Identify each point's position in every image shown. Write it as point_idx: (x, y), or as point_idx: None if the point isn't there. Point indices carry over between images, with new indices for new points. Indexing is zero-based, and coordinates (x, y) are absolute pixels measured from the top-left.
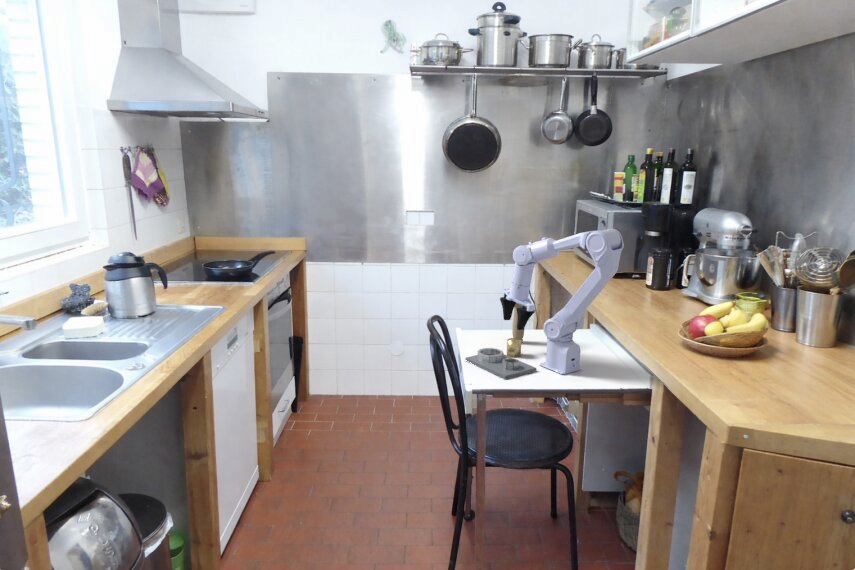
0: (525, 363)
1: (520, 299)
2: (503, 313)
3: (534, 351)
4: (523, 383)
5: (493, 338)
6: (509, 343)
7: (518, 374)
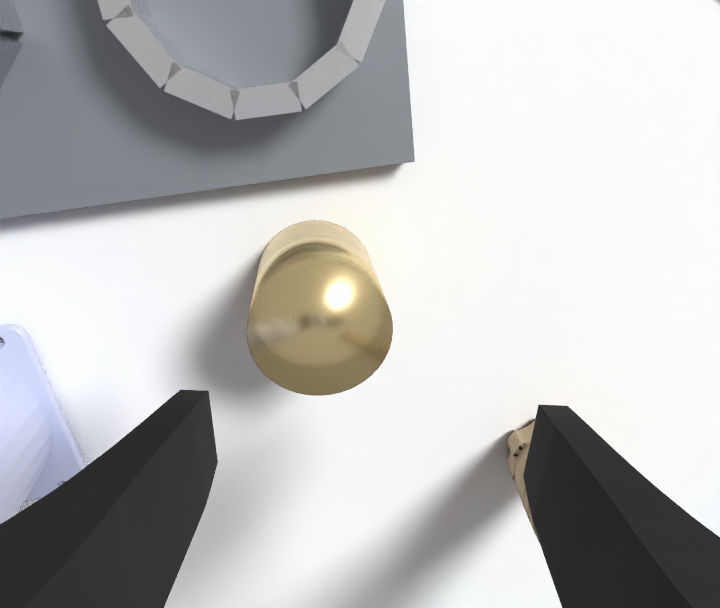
0: (10, 215)
1: None
2: (616, 461)
3: (326, 446)
4: None
5: (704, 343)
6: (301, 260)
7: None
